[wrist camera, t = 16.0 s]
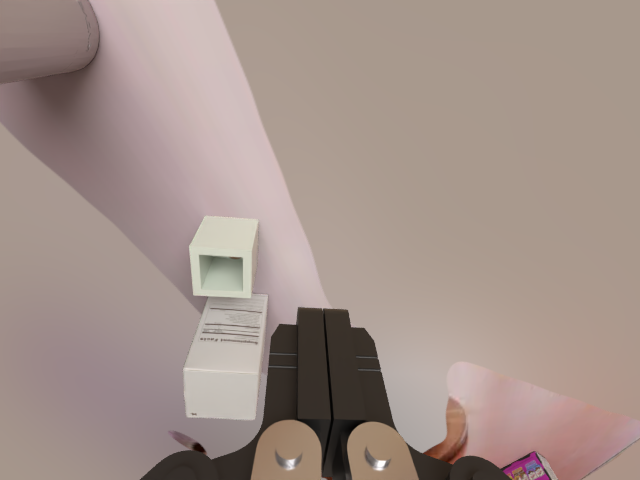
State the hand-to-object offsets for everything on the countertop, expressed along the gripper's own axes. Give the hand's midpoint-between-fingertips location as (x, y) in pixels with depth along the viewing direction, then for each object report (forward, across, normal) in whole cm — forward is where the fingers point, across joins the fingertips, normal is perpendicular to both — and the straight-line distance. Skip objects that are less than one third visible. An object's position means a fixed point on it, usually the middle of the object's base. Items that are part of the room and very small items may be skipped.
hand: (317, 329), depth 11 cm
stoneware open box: (+35, +8, +18) cm, 40 cm away
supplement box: (+35, +8, +31) cm, 48 cm away
